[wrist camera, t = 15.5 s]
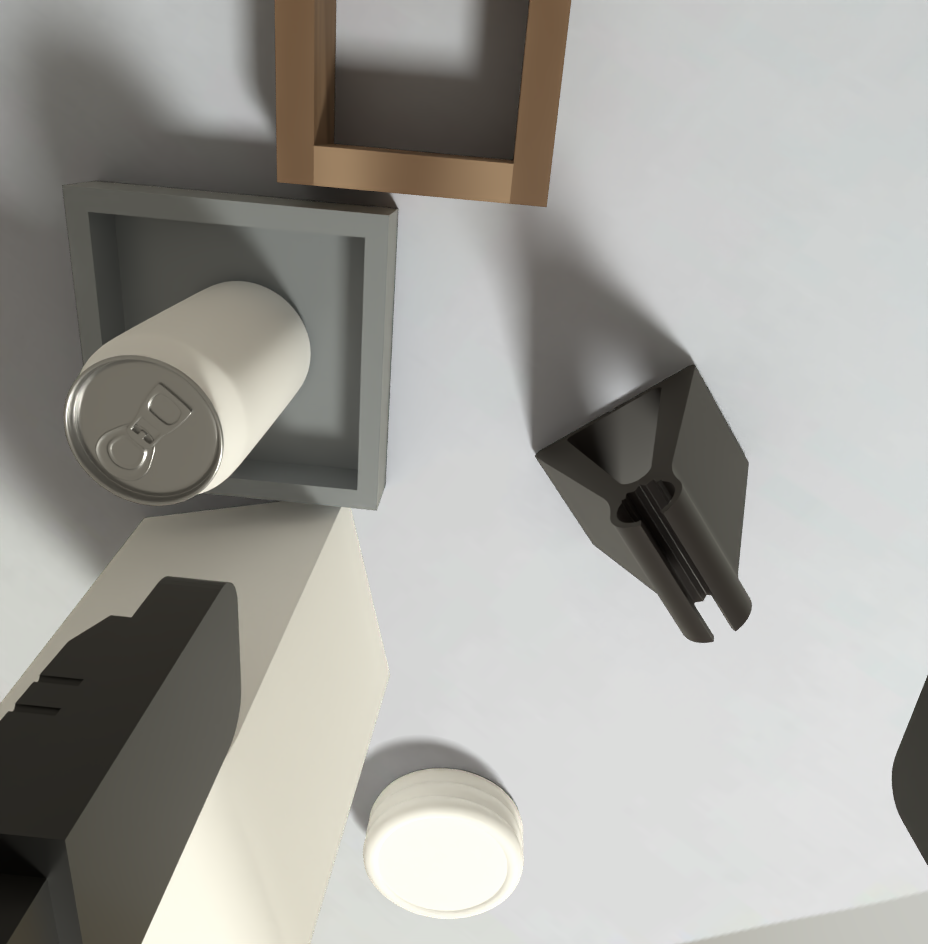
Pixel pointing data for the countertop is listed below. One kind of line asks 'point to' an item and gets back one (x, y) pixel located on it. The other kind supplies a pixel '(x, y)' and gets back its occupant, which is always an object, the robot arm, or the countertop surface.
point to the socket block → (400, 171)
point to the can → (186, 393)
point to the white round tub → (444, 843)
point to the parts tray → (279, 269)
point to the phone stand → (662, 496)
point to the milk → (262, 709)
